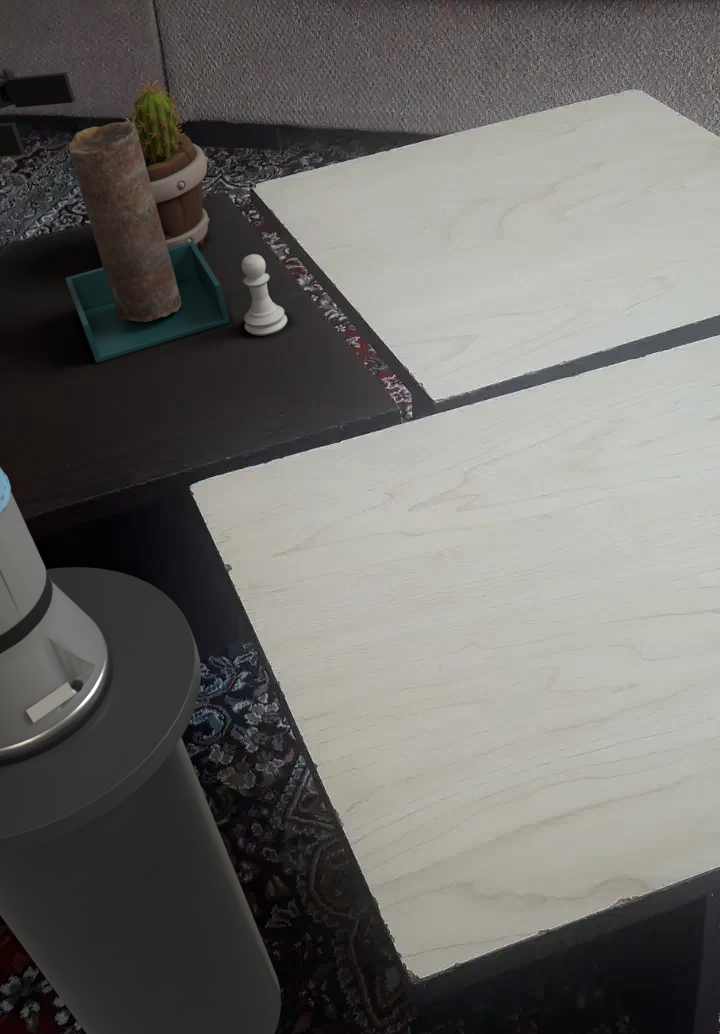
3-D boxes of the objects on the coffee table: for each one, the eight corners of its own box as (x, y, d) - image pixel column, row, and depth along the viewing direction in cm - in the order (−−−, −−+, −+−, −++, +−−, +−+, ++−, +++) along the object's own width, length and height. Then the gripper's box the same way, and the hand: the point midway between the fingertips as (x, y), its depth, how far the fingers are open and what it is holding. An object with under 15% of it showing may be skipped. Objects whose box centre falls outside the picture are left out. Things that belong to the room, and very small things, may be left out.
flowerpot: (84, 273, 131) (27, 102, 117) (147, 217, 140) (101, 53, 126) (185, 281, 126) (138, 103, 112) (243, 222, 135) (207, 51, 121)
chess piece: (281, 336, 113) (267, 265, 108) (240, 337, 114) (223, 267, 109) (292, 313, 116) (278, 243, 111) (251, 314, 118) (236, 245, 112)
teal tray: (229, 322, 117) (220, 284, 114) (96, 363, 115) (82, 325, 111) (194, 264, 128) (185, 228, 125) (72, 300, 126) (60, 264, 123)
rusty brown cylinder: (171, 332, 116) (122, 144, 102) (109, 333, 118) (51, 147, 104) (191, 297, 121) (146, 114, 107) (131, 298, 123) (79, 118, 109)
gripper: (-73, 121, 121) (99, 105, 116) (-188, 217, 104) (9, 203, 99) (-102, 49, 115) (77, 29, 111) (-228, 138, 98) (-22, 119, 94)
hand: (45, 111), depth 105 cm, fingers open, 13 cm apart
